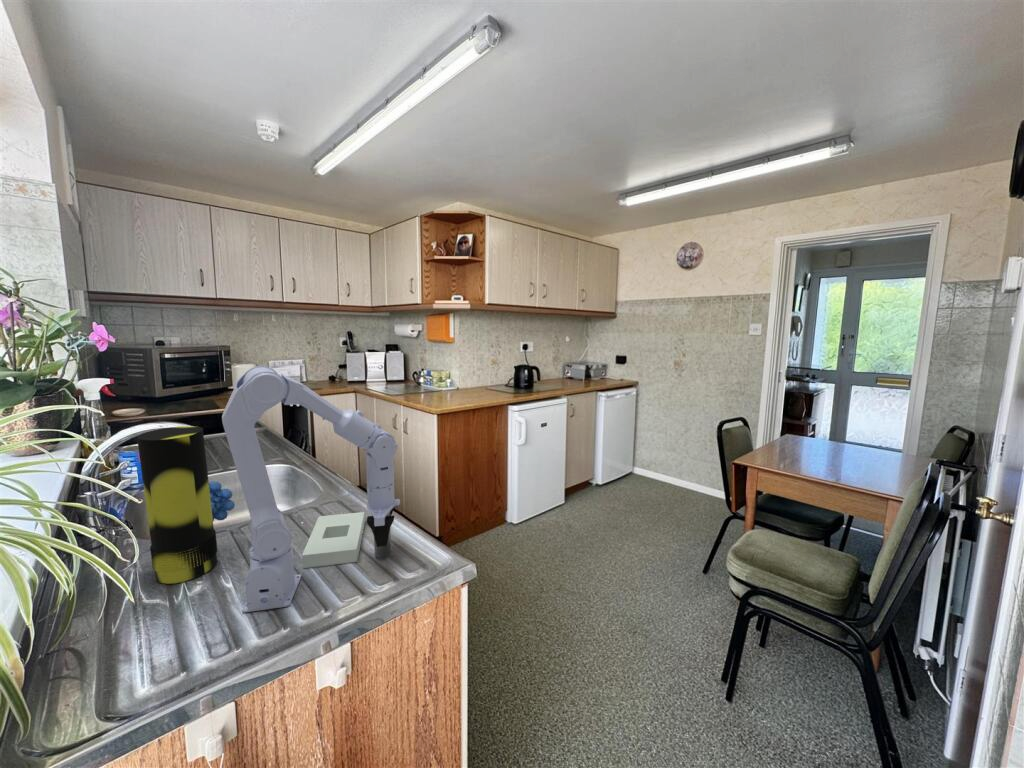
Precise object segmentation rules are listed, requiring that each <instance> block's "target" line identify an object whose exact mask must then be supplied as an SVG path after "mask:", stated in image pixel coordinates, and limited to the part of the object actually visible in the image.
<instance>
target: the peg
mask: <svg viewBox="0 0 1024 768" xmlns="http://www.w3.org/2000/svg"><path fill="white" fill-rule="evenodd" d="M386 516H390V512H389V513H388V514H387V515H386ZM391 532H392V531H391V527H390V531H389V537H388V543H387V546H381V547H377V545H376V542H375V538H374V537H373V543H374V544H373V545H374V556H375V557H377V558H385V557H387V556H389V555H391V553H392V535H391V534H392V533H391Z"/></svg>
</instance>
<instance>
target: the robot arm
mask: <svg viewBox="0 0 1024 768" xmlns="http://www.w3.org/2000/svg"><path fill="white" fill-rule="evenodd" d="M280 402H282V404H283V405H284V406H294V405H299V406H301V407H303V408H305V409H307V410H309V411H310V412H312V413H313V414H315V415H316V416H319V417H321V418H323V419H324V420H326V421H328V422H329V423H331V424H332V427H333V432H334V433H335V434H336V435H338V436H339V437H342V438H343V439H344V440H346V441H348V442H350V444H353V445H354V446H356V447H358V448H360V449H363V451H365V452H366V453H365V457H366V458H365V459H366V464H365V465H366V466H365V471H366V473H365V474H366V494H367V495H366V496H367V499H366V500H367V503H366V508H367V510H368V512H369V513H370V514H371V515H368V516H367V517H366V523H367V526H368V527H369V528H370V529H371V531H372V535H373V539H374V538H375V542H376V545H377V547H381V546H387V543H388V537H389V531H390V528H391V527H392V525H393V524H394V520H395V514H394V515H393V512H394V510H395V508H396V506H397V507H398V506H399V505H401V499H400V498H395V469H394V467H395V466H394V456H395V454H396V452H397V451H398V446H399V445H398V444H397V441H396V440H395V437H394V436H393V435H392V434H390V433H389V432H387V431H386V430H384V429H383V428H382V425H380V424H379V423H377V422H376V423H374V422H373V421H371V420H369V419H368V418H366V417H364V415H365V413H363V412H362V411H361V410H359V409H357V410H353V409H345V410H341V409H340V408H338V407H337V406H336V405H334V404H333V403H331V402H330V401H328V400H327V399H325V398H323V396H321V395H320V394H318V393H317V392H315V391H314V390H312V389H311V388H309V387H308V386H307V385H305V384H303V383H302V382H300V381H298V380H296V379H293V378H292V377H289V376H287V375H285V374H283V373H278V372H277V371H276V370H274V369H273V368H272V367H269V366H266V365H257V366H252V367H251V368H249V369H248V370H247V371H246V372H244V374H243V375H241V376H240V377H239V378H238V379H237V380H236V382H235V385H234V388H233V390H232V392H231V395H230V397H229V399H228V401H227V403H226V405H225V408H224V410H223V412H222V415H221V422H222V426H223V429H224V433H225V436H226V440H227V443H228V446H229V449H230V450H229V451H230V452H231V455H232V459H233V462H234V463H233V464H234V466H235V469H236V472H237V476H238V480H239V483H240V487H241V490H242V492H243V496H244V499H245V502H246V506H247V510H248V513H249V516H250V519H249V523H248V530H249V533H250V536H251V542H252V545H251V547H250V549H249V550H248V551H249V552H248V554H249V556H248V557H249V566H250V567H249V571H248V572H247V574H246V577H245V582H244V586H245V596H246V597H245V598H246V601H245V603H244V604H243V607H242V609H241V612H242V613H250V612H255V611H256V612H257V611H263V610H264V611H265V610H271V609H272V610H273V609H280V608H286V607H289V606H290V605H291V603H292V601H293V598H294V596H295V595H296V591H297V589H298V587H299V584H300V581H301V579H302V574H301V573H297V574H295V563H294V551H293V549H294V548H293V541H292V540H293V537H292V536H293V535H292V533H291V530H290V529H289V528H288V525H287V522H286V517H285V515H284V513H283V511H281V510H280V509H279V508H278V506H277V505H278V504H277V503H276V498H275V495H274V492H273V488H272V485H271V480H270V478H269V474H268V470H267V466H266V463H265V459H264V455H263V453H262V452H263V451H262V448H261V445H260V441H259V438H258V434H257V431H256V427H255V424H256V423H258V421H259V420H260V418H261V417H262V416H263V415H264V414H265V412H267V411H268V410H270V409H272V408H273V407H275V406H276V405H278V404H279V403H280ZM389 512H390V516H386V515H387V514H388V513H389Z"/></svg>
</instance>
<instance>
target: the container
mask: <svg viewBox="0 0 1024 768" xmlns="http://www.w3.org/2000/svg"><path fill="white" fill-rule="evenodd" d="M136 440H137V441H136V442H137V447H138V448H137V449H138V455H139V461H140V469H141V471H140V472H141V475H142V476H141V477H142V483H143V484H142V485H143V486H142V487H143V493H144V500H145V506H146V514H147V522H148V529H149V538H150V544H151V545H150V547H149V548H150V549H149V550H150V556H151V563H152V570H154V573H155V574H154V575H155V579H156V581H157V582H159V583H162V584H170V585H171V584H173V585H174V584H179V583H185V582H188V581H192V580H194V579H197V578H198V577H202V576H203V575H205V574H206V573H207V572H209V571H211V570H212V569H213V568H214V567H215V566H216V564H217V562H218V557H217V556H218V555H217V554H218V553H217V552H218V545H217V544H218V543H217V532H216V529H215V528H214V521H213V518H212V508H211V499H210V490H209V483H210V482H209V473H208V472H209V471H208V465H207V456H206V446H205V436H204V429H203V427H201V426H194V425H186V426H183V425H181V426H171V427H165V428H163V427H162V428H159V429H153V430H149V431H146V432H142V433H140V434H139V435H137V437H136Z"/></svg>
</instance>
